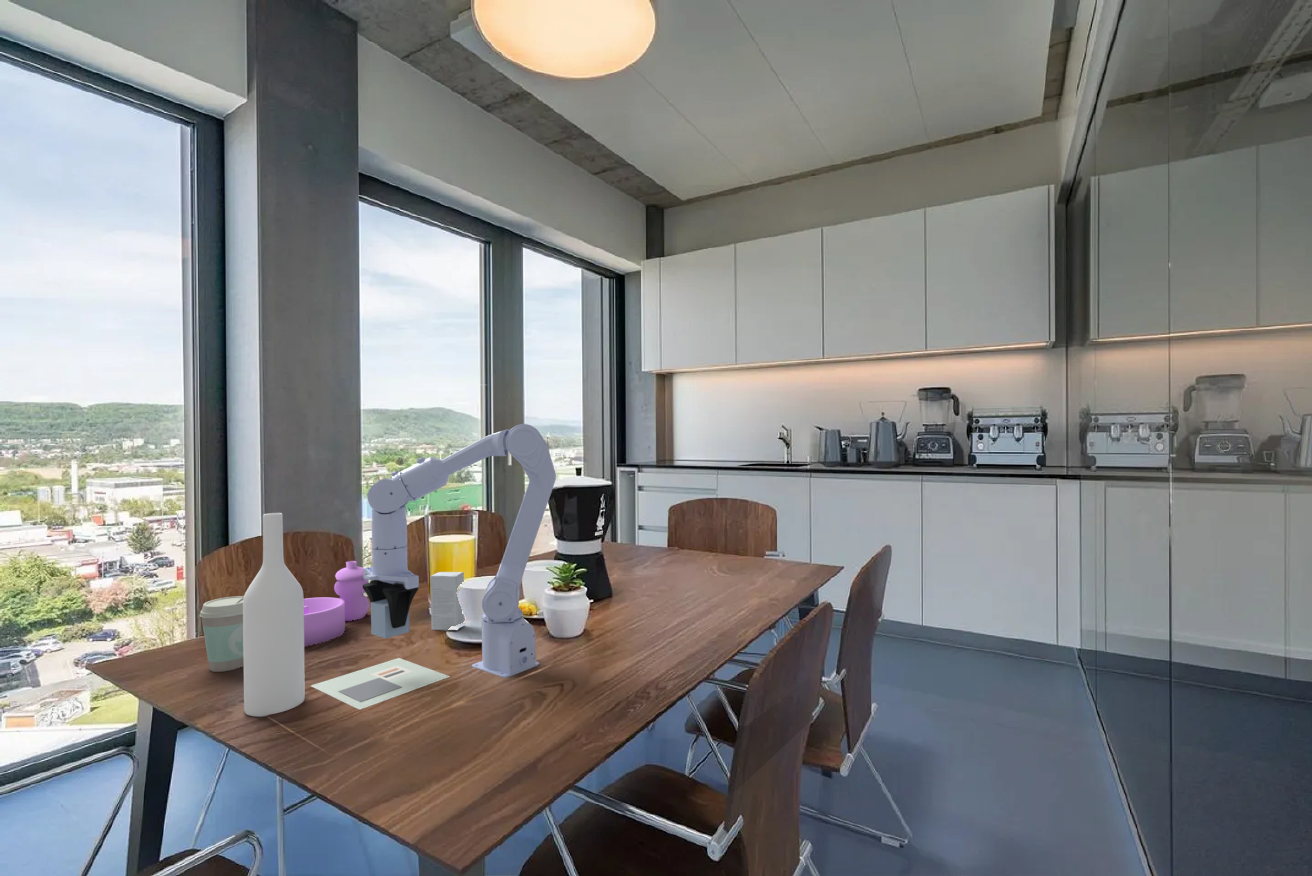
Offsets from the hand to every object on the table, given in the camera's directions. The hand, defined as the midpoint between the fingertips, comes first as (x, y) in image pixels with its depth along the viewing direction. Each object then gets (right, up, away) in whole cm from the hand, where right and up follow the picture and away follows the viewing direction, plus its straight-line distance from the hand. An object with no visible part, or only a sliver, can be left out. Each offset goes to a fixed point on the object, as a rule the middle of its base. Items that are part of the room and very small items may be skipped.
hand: (390, 624), depth 109 cm
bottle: (-13, -9, -12) cm, 20 cm away
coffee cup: (-32, -10, +5) cm, 34 cm away
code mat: (0, -9, -4) cm, 10 cm away
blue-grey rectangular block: (0, -2, 0) cm, 2 cm away
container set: (-27, -10, +27) cm, 39 cm away
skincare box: (+1, -9, +27) cm, 28 cm away
